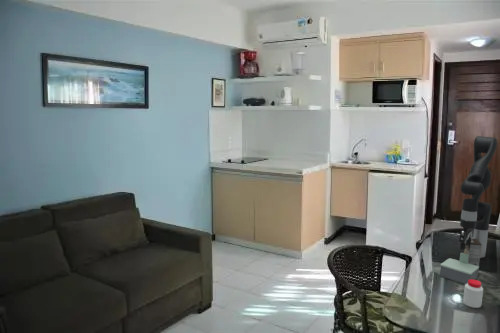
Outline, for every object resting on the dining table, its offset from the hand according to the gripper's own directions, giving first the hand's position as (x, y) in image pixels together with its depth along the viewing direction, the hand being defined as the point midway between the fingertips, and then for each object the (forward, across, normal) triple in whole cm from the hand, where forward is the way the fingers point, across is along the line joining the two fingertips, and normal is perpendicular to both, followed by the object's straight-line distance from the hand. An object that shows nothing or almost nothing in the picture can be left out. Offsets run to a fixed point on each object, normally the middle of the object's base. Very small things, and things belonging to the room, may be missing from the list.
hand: (465, 247), depth 227 cm
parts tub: (+16, +5, 0) cm, 16 cm away
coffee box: (+16, -13, 0) cm, 20 cm away
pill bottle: (+16, +30, +15) cm, 37 cm away
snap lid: (+10, +5, 0) cm, 12 cm away
